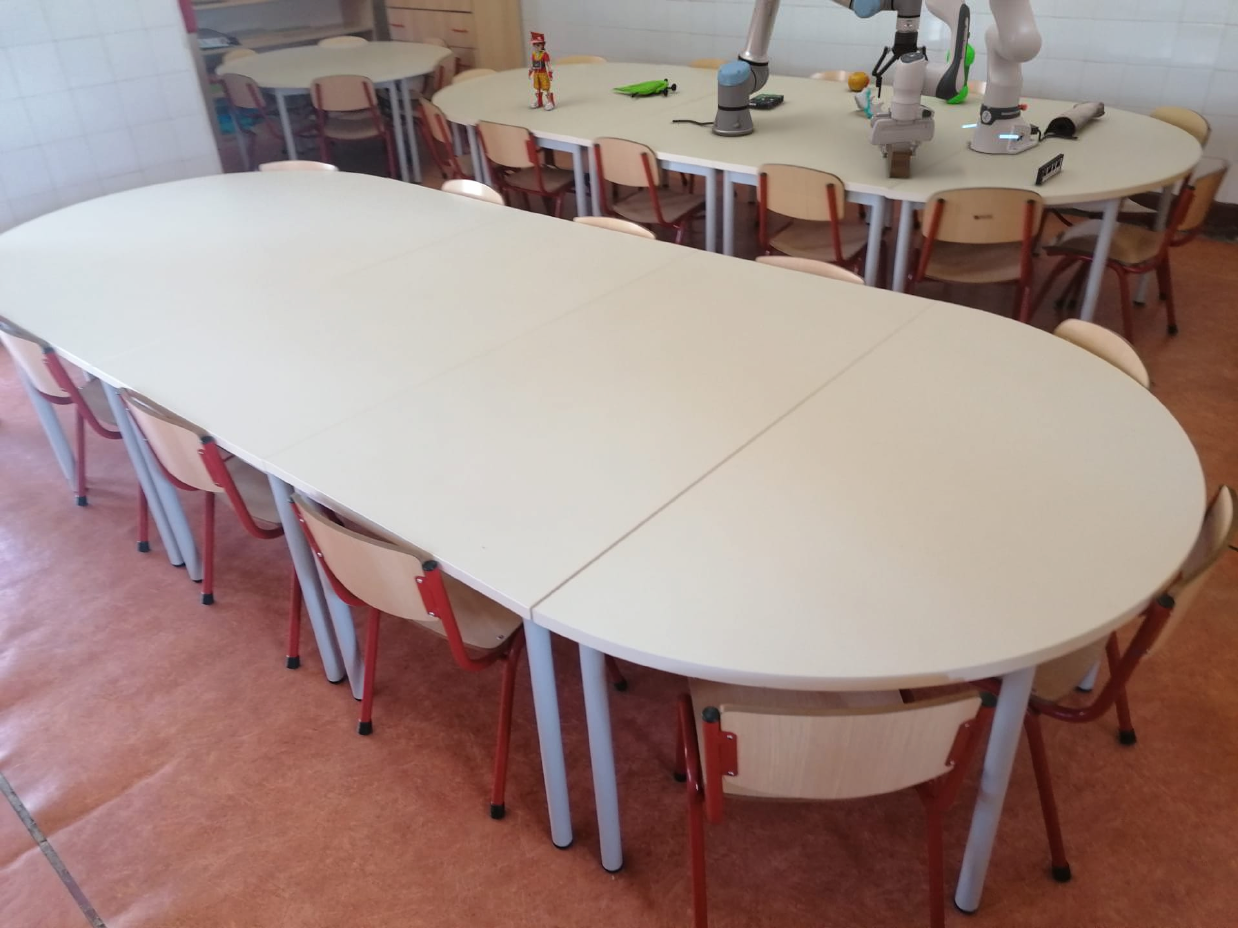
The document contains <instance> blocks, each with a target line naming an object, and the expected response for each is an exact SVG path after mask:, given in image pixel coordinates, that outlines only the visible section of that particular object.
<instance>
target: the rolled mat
mask: <svg viewBox="0 0 1238 928" xmlns="http://www.w3.org/2000/svg"><path fill="white" fill-rule="evenodd" d="M1105 113H1106V112H1105V104H1104V102H1102V101H1096V100H1091V101H1085V102H1079V103H1076V104H1074V105H1073V107H1072V108H1071V109H1069V110H1067V111H1065V112H1063V113H1061V114H1060V115H1058V116H1056V117H1054V118H1053V119H1051V120H1050V122H1049V123H1048V125H1047V127H1046V129H1045V130H1044V132H1043V136H1046V135H1049V134H1056V135H1062V136H1073V137H1074V135H1076V134H1077V132H1078V131H1079V130H1080V129H1081V128H1082V127H1083V126H1084V125H1086V124H1087V123H1088V122H1089V121H1090V120H1091V119H1095V118H1096V119H1097V118H1101V117H1103V116H1104V115H1105Z"/></svg>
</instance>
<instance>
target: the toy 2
mask: <svg viewBox="0 0 1238 928" xmlns="http://www.w3.org/2000/svg"><path fill="white" fill-rule="evenodd" d="M669 85H670V83H669V79H668V78H664V79H663V80H649V81H644V82H640V83H634V84H629V85H627V86H621V87H613V88H612V89H613V90H616V91H619V92H623V93H627V94H628V93H629V94H631V95H630V96H631V98H632V99H634V98H636V96H637V95H650V94H652V93H654V94H658V93H662V95H663V96H665V97H667V96H668V95H669V90H671V91H672V92H676V91H677V84H676V83H672V84H671V86H669Z"/></svg>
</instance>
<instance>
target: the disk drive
mask: <svg viewBox="0 0 1238 928" xmlns="http://www.w3.org/2000/svg"><path fill="white" fill-rule="evenodd" d="M784 99H785V95H784V94H775V93H774V94H771V93H760V94H758V95H755V96H753V97H752V98H749V109H755V110H771V109H773V108H775V107H776V106H778V105H780V104H782V103H783V102H784V101H785V100H784Z"/></svg>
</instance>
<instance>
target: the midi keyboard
mask: <svg viewBox="0 0 1238 928" xmlns="http://www.w3.org/2000/svg"><path fill="white" fill-rule="evenodd" d="M1064 157H1065V153H1059V154H1058V155H1056V156H1055V157H1052V159H1051V160H1049V161H1047V162H1045V164H1042V165H1041V166H1039V167H1038V169H1037V175H1036V179H1035V186H1040V185H1042V183H1044V182H1045V181H1047V180H1048V179H1049V178H1051V177H1052V176H1054V175H1055V174H1056V173H1058V172H1060V171H1061V170H1062V165H1063V161H1064Z"/></svg>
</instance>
